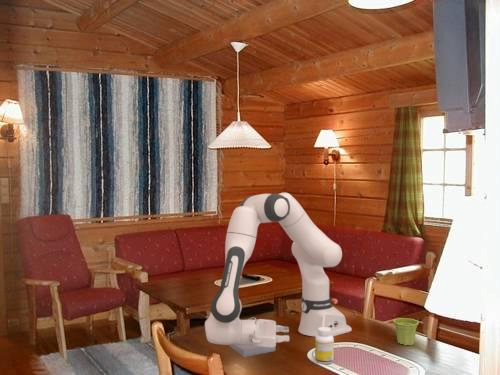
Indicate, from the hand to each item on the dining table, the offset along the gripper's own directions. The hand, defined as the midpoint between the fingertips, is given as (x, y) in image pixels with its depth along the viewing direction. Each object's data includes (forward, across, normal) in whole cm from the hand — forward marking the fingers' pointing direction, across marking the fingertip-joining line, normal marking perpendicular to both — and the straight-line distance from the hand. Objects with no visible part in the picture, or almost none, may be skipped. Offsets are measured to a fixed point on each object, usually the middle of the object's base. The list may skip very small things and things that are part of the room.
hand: (289, 333), depth 191 cm
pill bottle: (+13, 0, +10) cm, 16 cm away
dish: (-14, +12, +10) cm, 20 cm away
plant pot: (+46, +21, +9) cm, 51 cm away
